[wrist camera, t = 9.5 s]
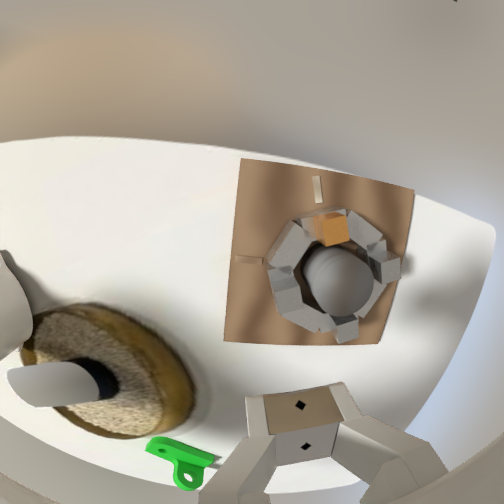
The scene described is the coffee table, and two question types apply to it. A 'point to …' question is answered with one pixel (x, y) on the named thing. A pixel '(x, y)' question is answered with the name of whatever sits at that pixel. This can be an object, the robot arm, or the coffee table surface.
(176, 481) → the mechanical part
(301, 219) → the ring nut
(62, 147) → the coffee table surface
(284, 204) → the base plate
